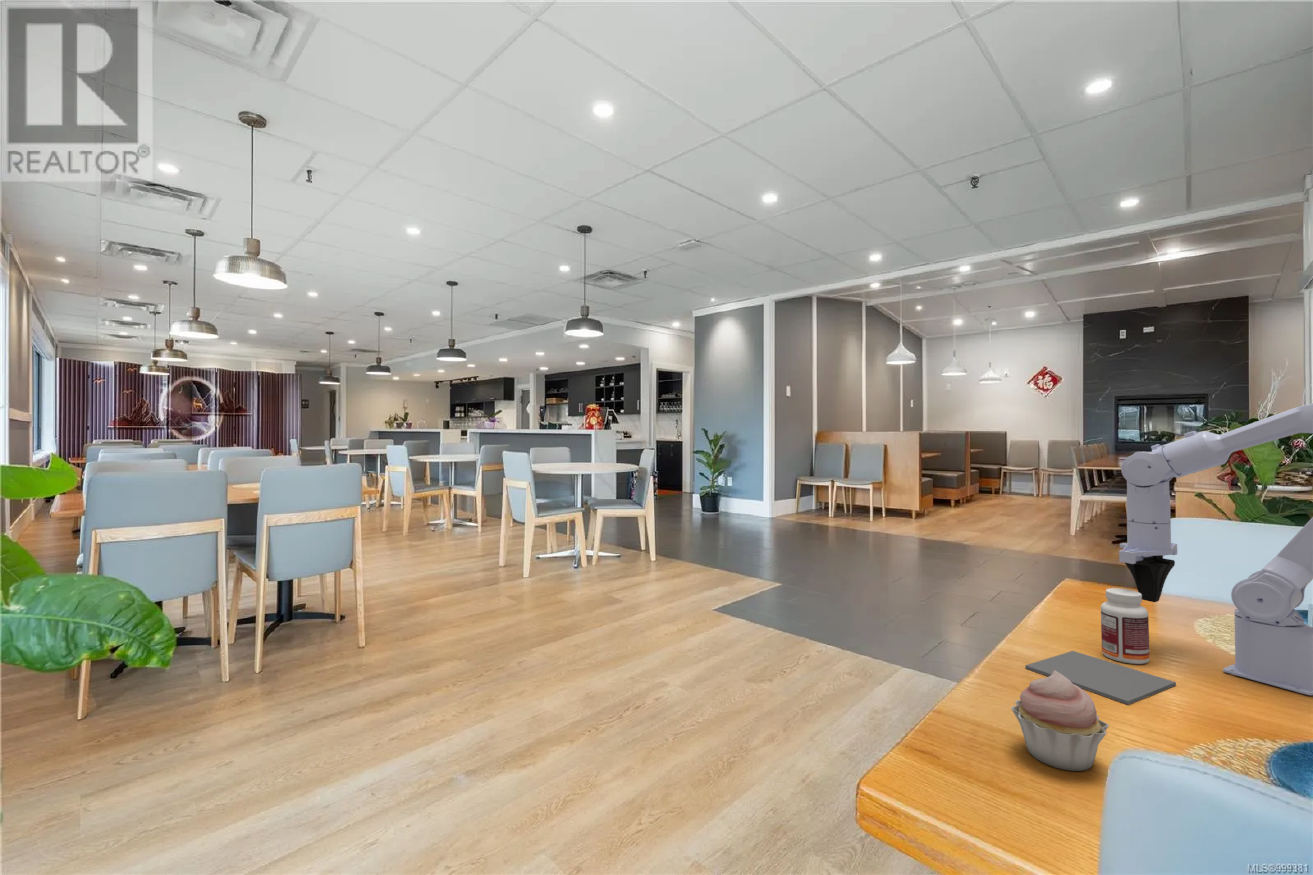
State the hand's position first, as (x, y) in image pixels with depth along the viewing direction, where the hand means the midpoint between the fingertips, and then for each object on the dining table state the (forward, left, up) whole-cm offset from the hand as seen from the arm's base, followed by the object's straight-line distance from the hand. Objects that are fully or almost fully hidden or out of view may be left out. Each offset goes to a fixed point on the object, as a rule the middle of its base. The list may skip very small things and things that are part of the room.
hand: (1149, 600), depth 99 cm
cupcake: (-12, +48, -9) cm, 50 cm away
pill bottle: (0, +8, -9) cm, 12 cm away
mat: (-2, +20, -8) cm, 22 cm away
